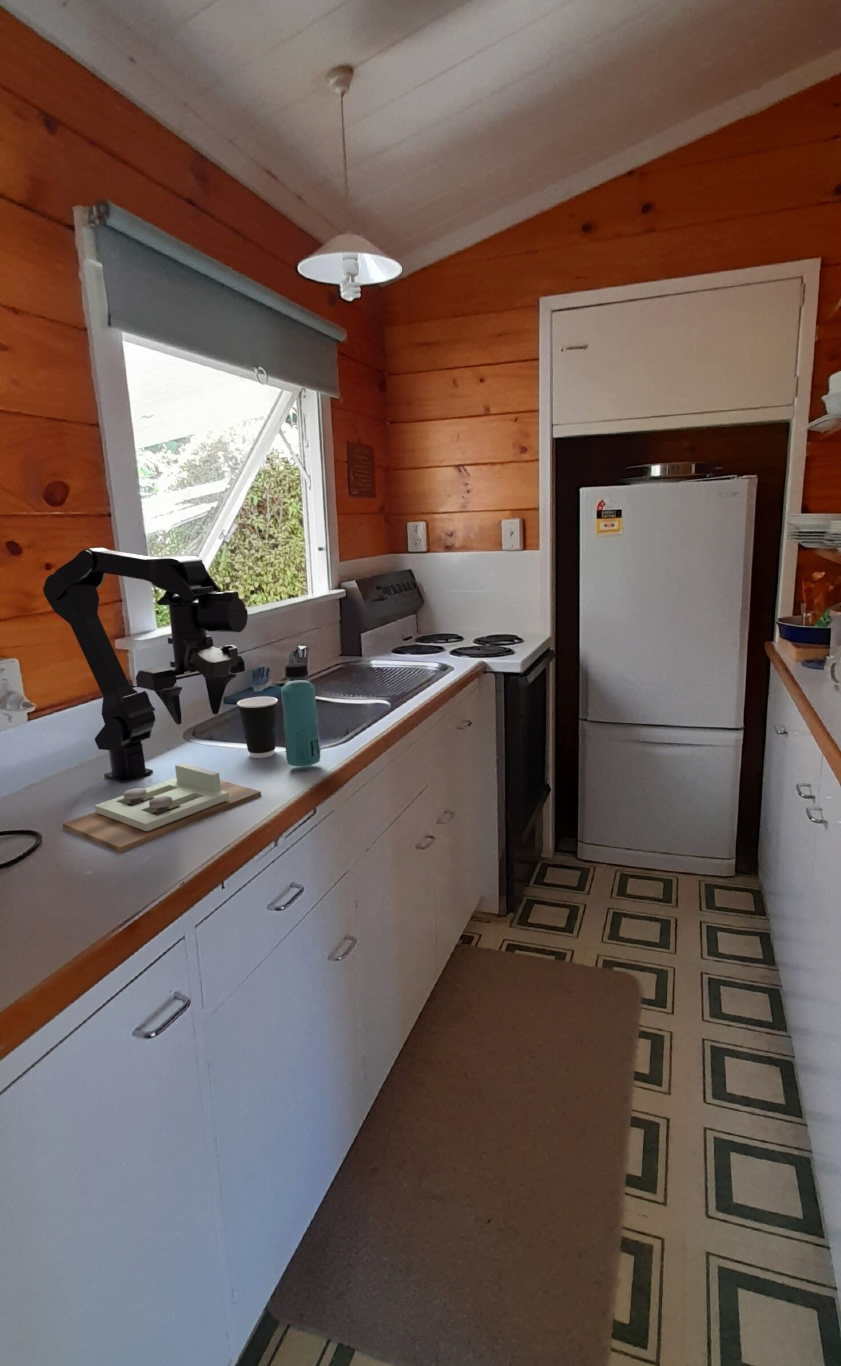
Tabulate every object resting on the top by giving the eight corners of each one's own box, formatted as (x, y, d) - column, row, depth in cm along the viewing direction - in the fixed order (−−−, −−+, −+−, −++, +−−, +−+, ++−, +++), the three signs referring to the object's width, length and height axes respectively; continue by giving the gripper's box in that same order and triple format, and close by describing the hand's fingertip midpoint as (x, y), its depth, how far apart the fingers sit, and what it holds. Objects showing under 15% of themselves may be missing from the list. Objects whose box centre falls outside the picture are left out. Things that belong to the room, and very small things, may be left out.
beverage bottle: (315, 775, 134) (307, 667, 130) (280, 773, 136) (272, 667, 131) (326, 763, 141) (319, 660, 136) (293, 762, 142) (285, 660, 138)
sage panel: (95, 812, 117) (92, 787, 116) (177, 783, 129) (175, 761, 128) (146, 831, 109) (143, 804, 108) (229, 799, 121) (226, 774, 120)
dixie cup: (289, 753, 148) (285, 700, 146) (255, 763, 143) (250, 707, 140) (268, 746, 154) (263, 694, 151) (234, 755, 148) (229, 701, 146)
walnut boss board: (62, 828, 114) (59, 806, 113) (202, 779, 134) (200, 760, 134) (120, 852, 105) (117, 828, 104) (261, 795, 125) (259, 775, 124)
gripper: (169, 642, 114) (179, 739, 118) (262, 626, 129) (268, 713, 132) (129, 637, 121) (139, 729, 124) (221, 623, 135) (229, 705, 139)
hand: (197, 719), depth 130 cm, fingers open, 7 cm apart
